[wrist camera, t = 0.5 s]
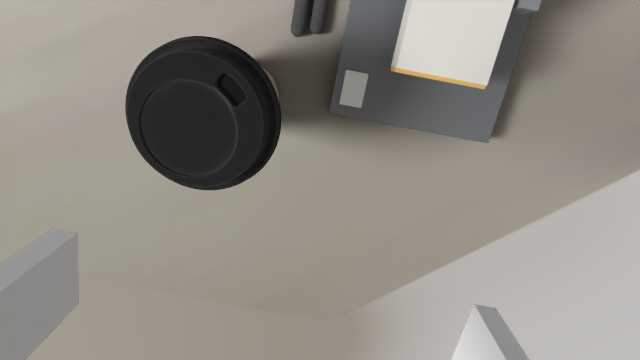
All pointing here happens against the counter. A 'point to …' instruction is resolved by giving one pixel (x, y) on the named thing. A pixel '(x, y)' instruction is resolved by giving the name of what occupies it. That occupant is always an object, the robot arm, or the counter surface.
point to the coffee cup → (203, 113)
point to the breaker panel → (413, 91)
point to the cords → (301, 16)
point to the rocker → (451, 39)
